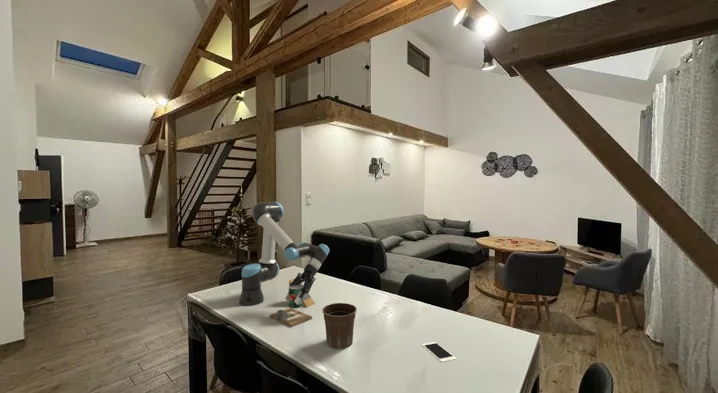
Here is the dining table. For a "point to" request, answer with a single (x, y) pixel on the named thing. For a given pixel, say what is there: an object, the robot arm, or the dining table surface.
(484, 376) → the dining table surface
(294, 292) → the canned tomato
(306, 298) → the sandwich container
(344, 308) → the plant pot
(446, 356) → the cell phone
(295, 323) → the walnut board
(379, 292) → the dining table surface
